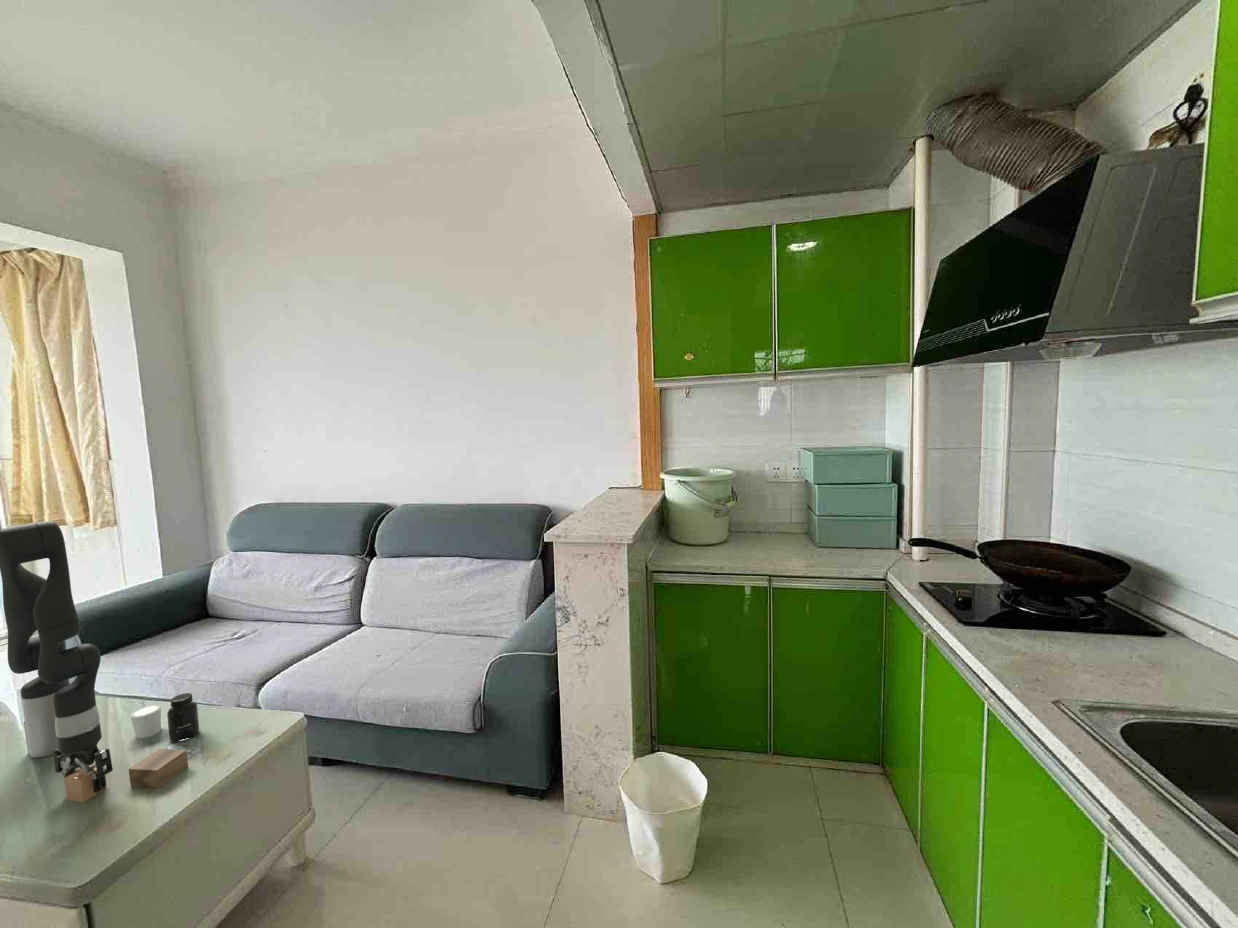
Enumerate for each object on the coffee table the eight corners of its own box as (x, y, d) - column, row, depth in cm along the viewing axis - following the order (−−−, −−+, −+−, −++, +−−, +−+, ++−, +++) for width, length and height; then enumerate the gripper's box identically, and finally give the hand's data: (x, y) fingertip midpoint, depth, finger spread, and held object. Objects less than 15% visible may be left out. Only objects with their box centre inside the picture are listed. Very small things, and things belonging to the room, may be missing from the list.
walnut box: (130, 787, 133) (128, 768, 132) (161, 766, 141) (159, 748, 140) (159, 788, 132) (157, 770, 131) (188, 767, 140) (186, 749, 139)
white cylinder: (161, 734, 155) (159, 711, 155) (130, 742, 151) (127, 719, 151) (165, 723, 161) (162, 701, 160) (135, 731, 157) (132, 709, 156)
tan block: (67, 800, 128) (64, 777, 128) (90, 786, 133) (87, 764, 133) (83, 802, 128) (80, 779, 127) (106, 787, 133) (103, 765, 132)
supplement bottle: (182, 744, 150) (178, 704, 149) (163, 741, 151) (159, 702, 150) (205, 730, 157) (201, 691, 155) (187, 728, 158) (183, 690, 157)
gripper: (36, 734, 126) (44, 796, 128) (83, 738, 124) (92, 802, 125) (73, 716, 134) (81, 775, 135) (118, 720, 131) (126, 780, 133)
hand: (86, 788), depth 130 cm, fingers open, 8 cm apart
